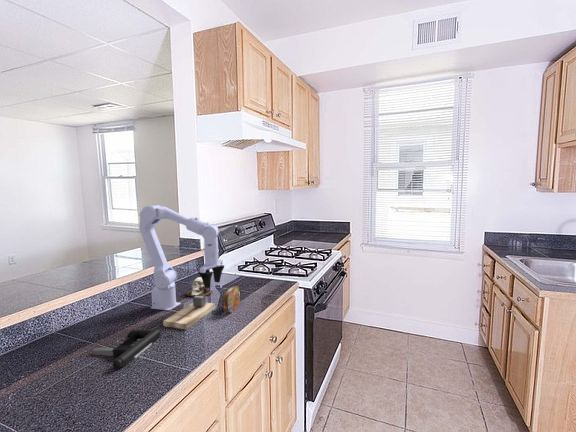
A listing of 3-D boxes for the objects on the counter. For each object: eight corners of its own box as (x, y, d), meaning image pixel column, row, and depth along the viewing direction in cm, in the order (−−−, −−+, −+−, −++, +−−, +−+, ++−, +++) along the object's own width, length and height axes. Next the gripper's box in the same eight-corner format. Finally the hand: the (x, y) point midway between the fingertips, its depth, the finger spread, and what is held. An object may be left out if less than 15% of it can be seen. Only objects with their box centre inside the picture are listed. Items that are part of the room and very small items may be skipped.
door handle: (75, 358, 90) (124, 360, 87) (123, 327, 110) (164, 327, 107) (77, 368, 91) (125, 371, 88) (124, 336, 110) (165, 336, 107)
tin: (228, 316, 123) (228, 295, 122) (221, 315, 124) (220, 295, 123) (241, 301, 138) (241, 283, 137) (235, 301, 138) (234, 283, 137)
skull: (205, 297, 141) (191, 280, 142) (191, 309, 144) (178, 292, 145) (218, 287, 152) (205, 272, 153) (205, 299, 156) (193, 284, 157)
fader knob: (193, 305, 127) (192, 297, 127) (197, 303, 130) (196, 295, 130) (201, 306, 126) (201, 298, 126) (205, 304, 129) (205, 295, 129)
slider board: (163, 326, 115) (163, 320, 115) (194, 305, 134) (194, 301, 134) (186, 329, 112) (186, 324, 112) (215, 308, 131) (215, 303, 131)
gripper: (210, 258, 123) (211, 291, 124) (228, 250, 136) (229, 280, 138) (195, 257, 125) (196, 289, 126) (214, 249, 139) (215, 279, 140)
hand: (212, 284), depth 132 cm, fingers open, 7 cm apart
